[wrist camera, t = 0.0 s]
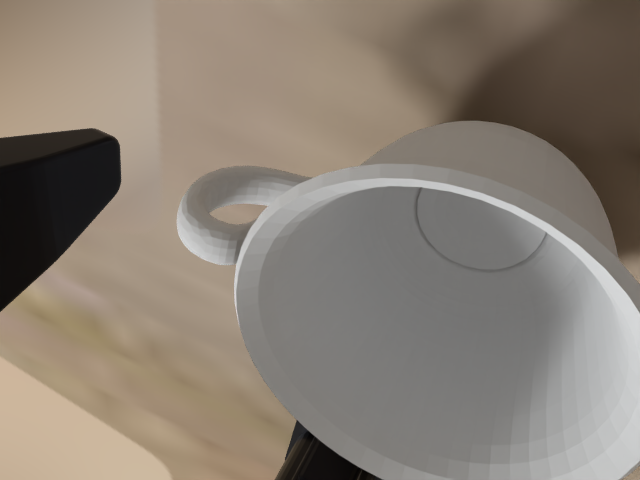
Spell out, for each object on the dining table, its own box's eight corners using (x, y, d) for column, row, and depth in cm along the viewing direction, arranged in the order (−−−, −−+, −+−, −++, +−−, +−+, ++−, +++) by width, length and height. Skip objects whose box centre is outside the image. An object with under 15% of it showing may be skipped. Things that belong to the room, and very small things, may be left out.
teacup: (332, -35, 20) (162, 32, 13) (743, 133, 18) (824, 336, 10) (271, 214, 28) (142, 345, 21) (551, 356, 26) (519, 565, 18)
